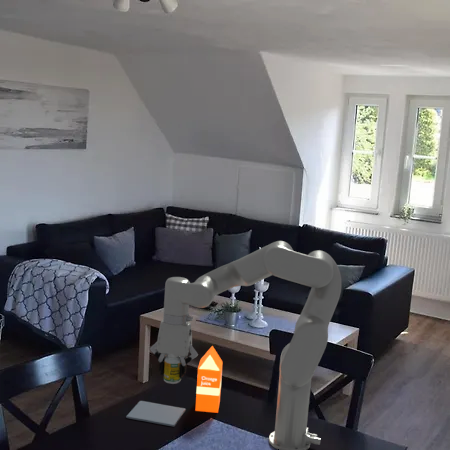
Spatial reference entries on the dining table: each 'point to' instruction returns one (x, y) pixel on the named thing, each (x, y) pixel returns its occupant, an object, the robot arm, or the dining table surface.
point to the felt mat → (156, 413)
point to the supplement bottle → (172, 369)
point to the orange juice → (209, 382)
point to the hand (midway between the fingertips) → (172, 374)
